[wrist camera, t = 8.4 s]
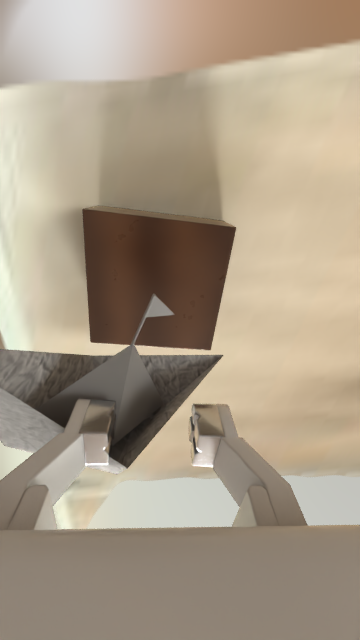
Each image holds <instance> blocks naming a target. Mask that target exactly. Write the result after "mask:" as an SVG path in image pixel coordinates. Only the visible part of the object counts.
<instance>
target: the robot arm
mask: <svg viewBox="0 0 360 640" xmlns="http://www.w3.org/2000/svg"><path fill="white" fill-rule="evenodd" d="M115 412H116V401H111V400H95V399H78V400H77V402H76V404H75V406H74V409H73V411H72V413H71V416H70V418H69V420H68V423H67V425H66V428H65V430H64V432H63V433H59V434H57V435H56V436H55V437H54V438H52V439H51V440H50V441H49V442H48V443H46V444H45V445H44V446H43V447H41V448H40V449H39V450H38V451H36V452H35V453H34V454H33V455H31V456H30V457H29V458H28V459H26V460H25V461H24V462H23V463H22V464H20V465H19V466H18V467H17V468H15V469H14V470H13V471H12V472H10V473H9V474H8V475H7V476H5V477H4V478H3V479H2V480H0V640H360V525H320V526H319V525H318V526H308V525H307V523H306V521H305V519H304V516H303V514H302V511H301V509H300V507H299V505H298V502H297V500H296V498H295V495H294V493H293V491H292V488H291V486H290V484H289V483H288V482H287V481H286V480H285V479H284V478H282V477H281V476H280V475H279V474H278V473H277V472H276V471H275V470H274V469H273V468H272V467H271V466H270V465H269V464H268V463H267V462H266V461H265V460H264V459H263V458H262V457H261V456H260V455H259V454H258V453H257V452H256V451H255V450H254V449H253V448H252V447H251V446H250V445H249V444H248V443H247V442H246V441H245V440H244V439H243V438H240V437H238V434H237V431H236V428H235V425H234V421H233V418H232V415H231V412H230V409H229V406H228V405H224V404H216V405H215V404H193V405H192V416H191V417H190V421H189V440H190V442H191V443H192V445H191V459H192V466H204V467H213V469H214V471H215V472H216V474H217V475H218V476H219V478H220V479H221V481H222V482H223V484H224V485H225V487H226V488H227V489H228V491H229V493H230V494H231V495H232V497H233V498H234V500H235V501H236V503H237V504H238V506H239V507H240V508H239V511H238V513H237V516H236V518H235V520H234V522H233V525H232V527H185V528H121V529H120V528H119V529H57V524H56V520H55V515H54V511H53V505H54V504H55V503H56V502H57V501H58V499H59V498H60V497H61V496H62V495H63V493H64V492H65V491H66V490H67V489H68V488H69V486H70V485H71V484H72V483H73V482H74V480H75V479H76V478H77V477H78V476H79V474H80V473H81V472H82V471H83V470H84V469H85V467H86V465H109V460H110V458H109V457H110V455H111V450H112V440H113V439H114V436H115V429H116V419H117V415H116V414H115Z"/></svg>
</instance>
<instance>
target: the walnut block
mask: <svg viewBox="0 0 360 640" xmlns="http://www.w3.org/2000/svg"><path fill="white" fill-rule="evenodd" d="M82 211H83V227H84V243H85V260H86V276H87V292H88V308H89V324H90V341H91V342H92V343H108V344H123V345H131V343H132V340H133V338H134V336H135V334H136V331H137V329H138V327H139V324H140V322H141V320H142V318H143V315H144V313H145V311H146V309H147V306H148V304H149V302H150V300H151V297H152V295H153V294H155V295H156V296H157V297H158V298H159V299H160V300H161V301H162V302H163V303H164V304H165V305H166V306H167V307H168V308H169V309H170V310H171V311H172V312H173V313H174V314H175V315H167V316H156V317H146V319H145V321H144V323H143V325H142V328H141V330H140V332H139V334H138V337H137V339H136V341H135V343H134V345H138V346H153V347H168V348H183V349H199V350H211V346H212V341H213V336H214V331H215V326H216V322H217V317H218V312H219V307H220V303H221V298H222V293H223V288H224V284H225V279H226V274H227V269H228V264H229V260H230V255H231V250H232V245H233V241H234V236H235V231H236V227H234V226H232V225H230V224H228V223H226V222H224V221H221V220H213V219H205V218H197V217H189V216H180V215H172V214H164V213H156V212H148V211H139V210H131V209H123V208H115V207H107V206H94V207H90V208H85V209H83V210H82Z"/></svg>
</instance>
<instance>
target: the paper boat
mask: <svg viewBox="0 0 360 640" xmlns="http://www.w3.org/2000/svg"><path fill="white" fill-rule="evenodd" d="M167 315H175V314H174V313H173V312H172V311H171V310H170V309H169V308H168V307H167V306H166V305H165V304H164V303H163V302H162V301H161V300H160V299H159V298H158V297H157V296H156V295H155V294H153V295H152V297H151V300H150V302H149V304H148V306H147V309H146V311H145V313H144V315H143V318H142V320H141V322H140V324H139V327H138V329H137V331H136V334H135V336H134V338H133V340H132V343H131V345H130V346H128V347H127V348H125V349H124V350H122V351H121V352H119V353H118V354H116V355H115V356H90V355H76V354H62V353H47V352H33V351H19V350H5V349H0V440H1V442H2V443H3V445H4V446H7V447H11V448H15V449H19V450H23V451H27V452H31V453H35V452H36V451H38V450H39V449H40V448H41V447H43V446H44V445H45V444H46V443H48V442H49V441H50V440H51V439H52V438H54V437H55V436H56V435H57V434H59V433H63V432H64V430H65V428H66V425H67V423H68V420H69V418H70V416H71V413H72V411H73V409H74V406H75V404H76V402H77V400H78V399H95V400H111V401H116V412H115V414H116V415H117V419H116V429H115V436H114V439H113V440H112V450H111V455H110V457H109V458H110V460H109V465H86V467H90V468H94V469H98V470H102V471H106V472H110V473H113V474H119V473H120V472H122V471H124V470H126V469H127V468H128V467H129V466H130V465H131V464H132V463H133V461H134V460H135V459H136V458H137V457H138V455H139V454H140V453H141V452H142V451H143V450H144V448H145V447H146V446H147V445H148V444H149V442H150V441H151V440H152V439H153V438H154V437H155V435H156V434H157V433H158V432H159V431H160V429H161V428H162V427H163V426H164V425H165V424H166V422H167V421H168V420H169V419H170V418H171V416H172V415H173V414H174V413H175V412H176V411H177V409H178V408H179V407H180V406H181V405H182V403H183V402H184V401H185V400H186V399H187V398H188V396H189V395H190V394H191V393H192V392H193V390H194V389H195V388H196V387H197V386H198V385H199V383H200V382H201V381H202V380H203V379H204V377H205V376H206V375H207V374H208V373H209V372H210V370H211V369H212V368H213V367H214V366H215V364H216V363H217V362H218V361H219V360H220V359H221V357H222V356H223V355H140V356H139V354H138V352H137V350H136V348H135V346H134V343H135V341H136V339H137V337H138V334H139V332H140V330H141V328H142V325H143V323H144V321H145V319H146V317H156V316H167Z"/></svg>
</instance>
